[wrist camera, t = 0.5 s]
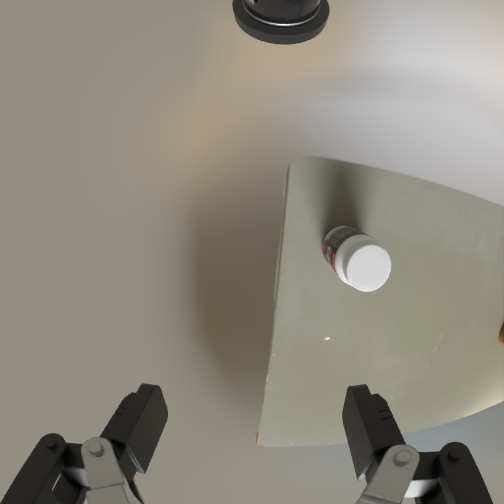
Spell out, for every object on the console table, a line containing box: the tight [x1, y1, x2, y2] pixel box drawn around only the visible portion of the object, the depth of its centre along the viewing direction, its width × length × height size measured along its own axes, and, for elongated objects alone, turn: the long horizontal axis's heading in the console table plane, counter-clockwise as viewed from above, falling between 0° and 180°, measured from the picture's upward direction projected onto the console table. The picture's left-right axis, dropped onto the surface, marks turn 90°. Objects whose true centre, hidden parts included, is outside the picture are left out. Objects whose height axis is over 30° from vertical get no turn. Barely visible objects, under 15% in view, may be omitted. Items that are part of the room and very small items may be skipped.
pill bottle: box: [322, 226, 391, 292], centre depth 24 cm, size 5×5×8 cm
